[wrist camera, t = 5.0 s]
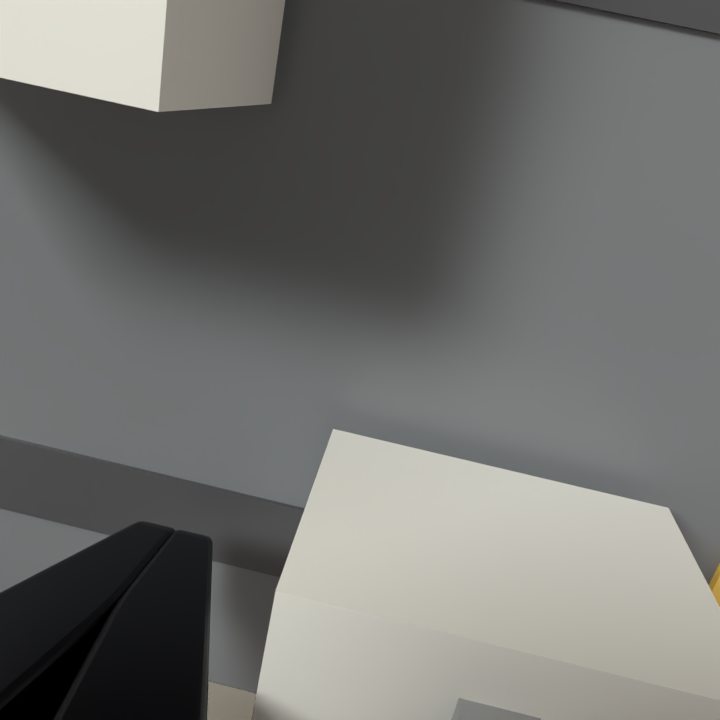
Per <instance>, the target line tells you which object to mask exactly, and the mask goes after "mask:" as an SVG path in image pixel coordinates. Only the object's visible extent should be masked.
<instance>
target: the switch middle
mask: <svg viewBox="0 0 720 720" xmlns="http://www.w3.org/2000/svg"><path fill="white" fill-rule="evenodd" d="M284 6H285V0H0V78H4V79H9V80H14V81H18V82H23V83H27V84H32V85H37V86H41V87H46V88H50V89H55V90H60V91H64V92H69V93H73V94H78V95H83V96H87V97H92V98H96V99H101V100H106V101H110V102H115V103H119V104H124V105H129V106H133V107H138V108H143V109H147V110H152V111H156V112H165V111H179V110H193V109H207V108H221V107H235V106H249V105H263V104H271V102H272V94H273V87H274V80H275V72H276V65H277V57H278V50H279V43H280V35H281V28H282V21H283V13H284Z"/></svg>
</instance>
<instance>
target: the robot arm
mask: <svg viewBox="0 0 720 720" xmlns="http://www.w3.org/2000/svg"><path fill="white" fill-rule="evenodd" d="M212 553H213V542H212V539H211V538H210V537H208V536H205V535H201V534H197V533H192V532H188V531H184V530H177V531H175V530H174V528H171V527H167V526H163V525H159V524H154V523H150V522H146V521H140V522H136V523H134V524H132V525H130V526H128V527H126V528H124V529H122V530H120V531H118V532H116V533H114V534H112V535H110V536H109V537H107V538H105V539H103V540H101V541H99V542H97V543H95V544H93V545H91V546H89V547H87V548H85V549H83V550H81V551H80V552H78V553H76V554H74V555H72V556H70V557H68V558H66V559H64V560H62V561H60V562H58V563H56V564H54V565H53V566H51V567H49V568H47V569H45V570H43V571H41V572H39V573H37V574H35V575H33V576H31V577H29V578H27V579H25V580H24V581H22V582H20V583H18V584H16V585H14V586H12V587H10V588H8V589H6V590H4V591H2V592H0V720H207V705H208V674H209V644H210V614H211V583H212Z"/></svg>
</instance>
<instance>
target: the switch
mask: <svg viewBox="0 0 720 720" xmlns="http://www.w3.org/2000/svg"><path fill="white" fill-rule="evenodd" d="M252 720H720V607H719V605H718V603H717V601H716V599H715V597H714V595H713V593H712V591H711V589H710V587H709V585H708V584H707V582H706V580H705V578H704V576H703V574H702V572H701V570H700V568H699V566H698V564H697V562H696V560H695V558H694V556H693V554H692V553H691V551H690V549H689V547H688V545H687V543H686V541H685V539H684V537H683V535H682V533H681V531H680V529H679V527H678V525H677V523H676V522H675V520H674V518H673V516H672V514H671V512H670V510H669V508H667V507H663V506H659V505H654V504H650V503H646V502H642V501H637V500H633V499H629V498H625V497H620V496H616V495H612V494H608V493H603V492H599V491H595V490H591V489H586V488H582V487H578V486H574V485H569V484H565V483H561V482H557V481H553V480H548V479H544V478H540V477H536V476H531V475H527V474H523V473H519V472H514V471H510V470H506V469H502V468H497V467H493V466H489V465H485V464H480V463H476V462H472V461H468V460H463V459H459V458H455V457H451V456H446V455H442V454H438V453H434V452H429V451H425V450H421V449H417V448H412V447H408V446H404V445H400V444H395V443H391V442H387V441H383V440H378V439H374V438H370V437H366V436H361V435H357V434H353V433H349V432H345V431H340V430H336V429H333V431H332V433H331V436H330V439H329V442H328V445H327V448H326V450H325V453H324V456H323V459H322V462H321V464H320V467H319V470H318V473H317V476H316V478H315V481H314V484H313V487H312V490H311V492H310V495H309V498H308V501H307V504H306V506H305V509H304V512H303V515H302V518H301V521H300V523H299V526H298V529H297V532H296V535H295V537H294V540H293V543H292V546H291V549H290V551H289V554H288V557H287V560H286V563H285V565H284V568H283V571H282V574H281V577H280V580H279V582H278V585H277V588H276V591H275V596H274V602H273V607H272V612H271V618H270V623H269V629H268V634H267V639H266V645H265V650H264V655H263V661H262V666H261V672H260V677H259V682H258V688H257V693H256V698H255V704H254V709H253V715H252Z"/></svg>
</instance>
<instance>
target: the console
mask: <svg viewBox="0 0 720 720" xmlns="http://www.w3.org/2000/svg"><path fill="white" fill-rule="evenodd" d="M333 429H336V430H340V431H345V432H349V433H353V434H357V435H361V436H366V437H370V438H374V439H378V440H383V441H387V442H391V443H395V444H400V445H404V446H408V447H412V448H417V449H421V450H425V451H429V452H434V453H438V454H442V455H446V456H451V457H455V458H459V459H463V460H468V461H472V462H476V463H480V464H485V465H489V466H493V467H497V468H502V469H506V470H510V471H514V472H519V473H523V474H527V475H531V476H536V477H540V478H544V479H548V480H553V481H557V482H561V483H565V484H569V485H574V486H578V487H582V488H586V489H591V490H595V491H599V492H603V493H608V494H612V495H616V496H620V497H625V498H629V499H633V500H637V501H642V502H646V503H650V504H654V505H659V506H663V507H667V508H669V510H670V512H671V514H672V516H673V518H674V520H675V522H676V523H677V525H678V527H679V529H680V531H681V533H682V535H683V537H684V539H685V541H686V543H687V545H688V547H689V549H690V551H691V553H692V554H693V556H694V558H695V560H696V562H697V564H698V566H699V568H700V570H701V572H702V574H703V576H704V578H705V580H706V582H707V584H708V585H709V587H710V589H711V591H712V593H713V595H714V597H715V599H716V601H717V603H718V605H719V607H720V0H285V6H284V13H283V21H282V28H281V35H280V43H279V50H278V57H277V65H276V72H275V80H274V87H273V94H272V102H271V104H263V105H249V106H235V107H221V108H207V109H193V110H179V111H165V112H156V111H152V110H147V109H143V108H138V107H133V106H129V105H124V104H119V103H115V102H110V101H106V100H101V99H96V98H92V97H87V96H83V95H78V94H73V93H69V92H64V91H60V90H55V89H50V88H46V87H41V86H37V85H32V84H27V83H23V82H18V81H14V80H9V79H4V78H0V592H2V591H4V590H6V589H8V588H10V587H12V586H14V585H16V584H18V583H20V582H22V581H24V580H25V579H27V578H29V577H31V576H33V575H35V574H37V573H39V572H41V571H43V570H45V569H47V568H49V567H51V566H53V565H54V564H56V563H58V562H60V561H62V560H64V559H66V558H68V557H70V556H72V555H74V554H76V553H78V552H80V551H81V550H83V549H85V548H87V547H89V546H91V545H93V544H95V543H97V542H99V541H101V540H103V539H105V538H107V537H109V536H110V535H112V534H114V533H116V532H118V531H120V530H122V529H124V528H126V527H128V526H130V525H132V524H134V523H136V522H140V521H146V522H150V523H154V524H159V525H163V526H167V527H171V528H174V530H175V531H177V530H184V531H188V532H192V533H197V534H201V535H205V536H208V537H210V538H211V539H212V542H213V553H212V583H211V614H210V644H209V674H208V681H210V682H214V683H217V684H221V685H225V686H229V687H233V688H237V689H241V690H245V691H249V692H253V693H257V688H258V682H259V677H260V672H261V666H262V661H263V655H264V650H265V645H266V639H267V634H268V629H269V623H270V618H271V612H272V607H273V602H274V596H275V591H276V588H277V585H278V582H279V580H280V577H281V574H282V571H283V568H284V565H285V563H286V560H287V557H288V554H289V551H290V549H291V546H292V543H293V540H294V537H295V535H296V532H297V529H298V526H299V523H300V521H301V518H302V515H303V512H304V509H305V506H306V504H307V501H308V498H309V495H310V492H311V490H312V487H313V484H314V481H315V478H316V476H317V473H318V470H319V467H320V464H321V462H322V459H323V456H324V453H325V450H326V448H327V445H328V442H329V439H330V436H331V433H332V431H333Z"/></svg>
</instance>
